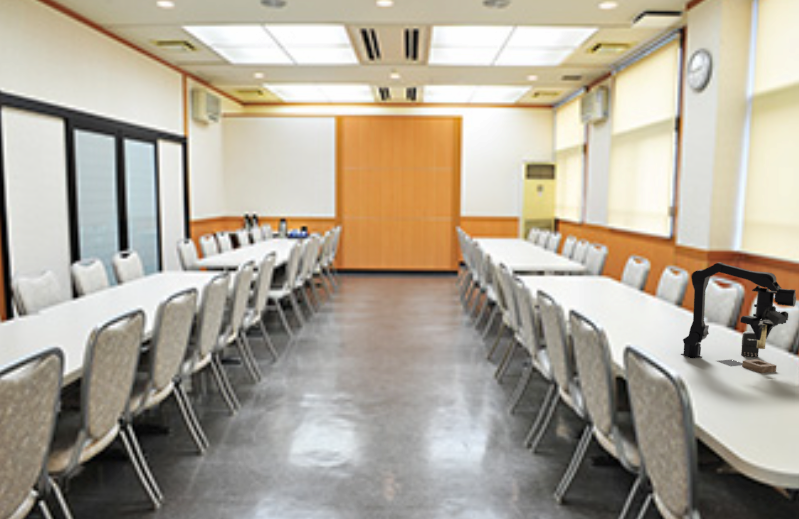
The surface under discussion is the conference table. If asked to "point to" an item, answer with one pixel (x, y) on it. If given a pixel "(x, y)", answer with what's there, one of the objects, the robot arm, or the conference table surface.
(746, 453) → the conference table surface
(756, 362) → the pin block
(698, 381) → the conference table surface
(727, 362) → the mat
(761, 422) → the conference table surface
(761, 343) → the pin
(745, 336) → the battery charger
